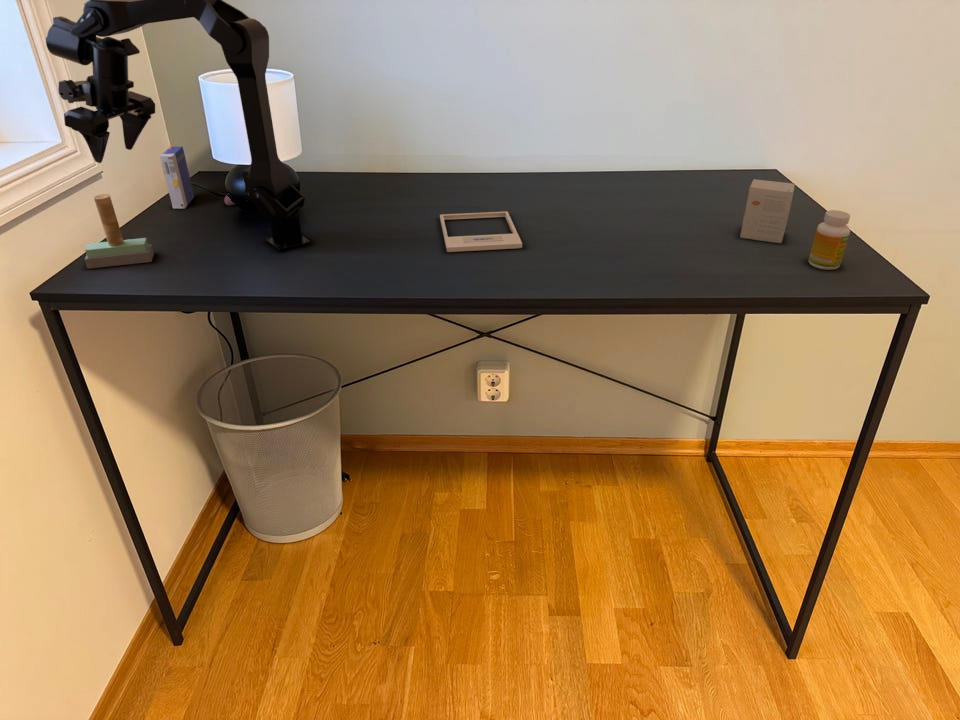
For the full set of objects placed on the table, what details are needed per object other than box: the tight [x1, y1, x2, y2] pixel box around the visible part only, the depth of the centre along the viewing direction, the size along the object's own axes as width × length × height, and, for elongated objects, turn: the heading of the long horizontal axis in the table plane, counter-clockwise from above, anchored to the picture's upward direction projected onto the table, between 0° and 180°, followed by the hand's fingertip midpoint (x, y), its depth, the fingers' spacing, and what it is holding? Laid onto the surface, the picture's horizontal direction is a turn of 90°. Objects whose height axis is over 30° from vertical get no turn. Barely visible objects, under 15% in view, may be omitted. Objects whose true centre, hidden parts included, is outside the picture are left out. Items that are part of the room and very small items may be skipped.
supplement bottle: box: [808, 209, 851, 271], centre depth 124 cm, size 5×5×10 cm
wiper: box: [84, 193, 155, 270], centre depth 125 cm, size 11×4×12 cm, turn 106°
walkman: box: [159, 145, 195, 210], centre depth 153 cm, size 8×3×12 cm, turn 4°
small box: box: [739, 178, 796, 244], centre depth 135 cm, size 8×6×10 cm
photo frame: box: [439, 210, 523, 253], centre depth 139 cm, size 15×1×18 cm
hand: (113, 155), depth 133 cm, fingers open, 9 cm apart
